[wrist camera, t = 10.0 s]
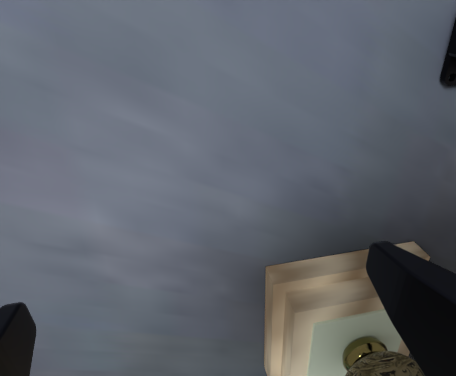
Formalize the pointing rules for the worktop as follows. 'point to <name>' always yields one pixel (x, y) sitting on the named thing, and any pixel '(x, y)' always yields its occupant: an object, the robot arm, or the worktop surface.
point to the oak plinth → (323, 313)
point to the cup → (377, 360)
